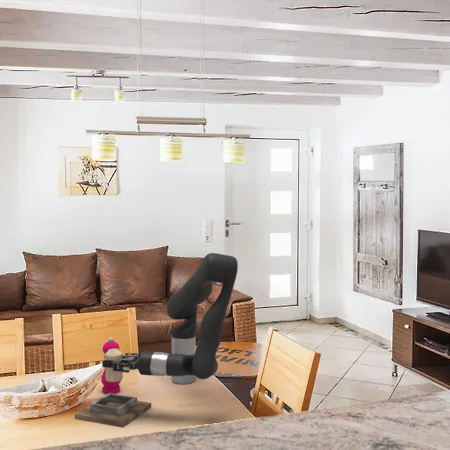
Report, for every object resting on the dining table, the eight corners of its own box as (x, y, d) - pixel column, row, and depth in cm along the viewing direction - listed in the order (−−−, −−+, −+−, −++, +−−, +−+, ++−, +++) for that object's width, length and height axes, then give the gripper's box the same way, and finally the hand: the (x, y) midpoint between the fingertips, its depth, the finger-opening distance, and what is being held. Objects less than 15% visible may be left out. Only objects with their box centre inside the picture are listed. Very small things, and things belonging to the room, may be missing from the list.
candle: (118, 382, 189) (118, 352, 189) (102, 381, 190) (102, 351, 190) (125, 377, 194) (124, 347, 194) (109, 376, 196) (109, 346, 195)
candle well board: (106, 399, 205) (105, 388, 205) (151, 407, 198) (151, 395, 198) (74, 418, 188) (74, 406, 188) (123, 427, 182) (123, 414, 181)
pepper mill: (97, 393, 211) (96, 338, 210) (108, 386, 218) (108, 333, 217) (114, 395, 209) (113, 340, 207) (125, 389, 215) (124, 335, 214)
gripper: (162, 346, 196) (114, 343, 199) (148, 358, 182) (97, 355, 185) (162, 368, 196) (115, 365, 200) (148, 382, 182) (97, 379, 186)
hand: (106, 360), depth 192 cm, fingers closed on candle, 5 cm apart
